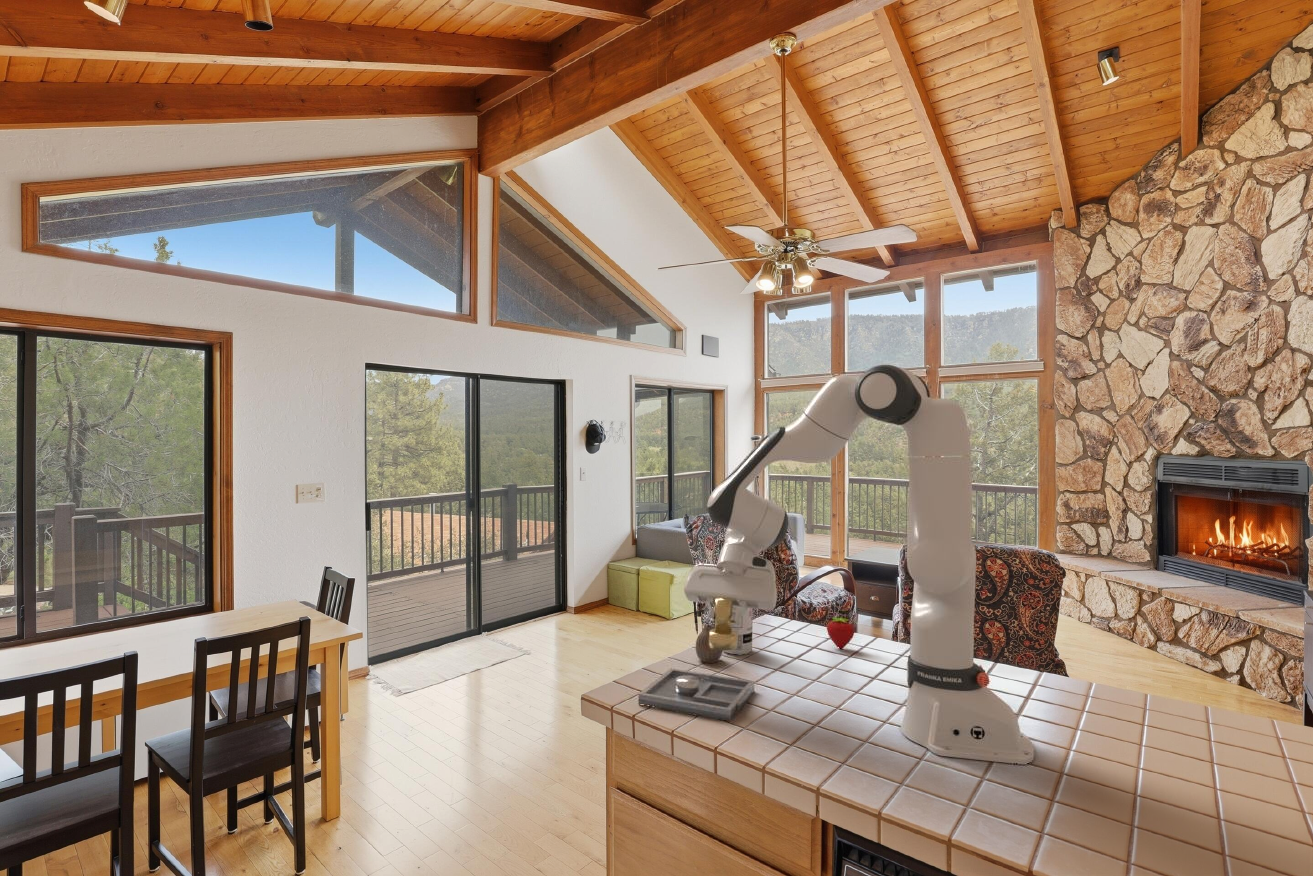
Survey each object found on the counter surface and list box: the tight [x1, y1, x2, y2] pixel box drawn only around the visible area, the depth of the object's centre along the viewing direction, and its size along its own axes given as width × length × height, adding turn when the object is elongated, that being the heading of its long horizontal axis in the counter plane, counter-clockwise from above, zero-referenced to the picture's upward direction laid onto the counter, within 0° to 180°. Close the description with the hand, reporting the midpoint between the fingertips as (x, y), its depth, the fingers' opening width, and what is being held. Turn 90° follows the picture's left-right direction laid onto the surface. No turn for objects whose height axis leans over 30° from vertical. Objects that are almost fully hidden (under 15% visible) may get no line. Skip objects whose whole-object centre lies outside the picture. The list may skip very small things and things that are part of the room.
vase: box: [695, 624, 724, 664], centre depth 168 cm, size 7×7×9 cm
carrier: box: [637, 668, 755, 722], centre depth 142 cm, size 20×18×4 cm
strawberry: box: [826, 612, 855, 649], centre depth 179 cm, size 6×8×10 cm
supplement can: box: [723, 606, 754, 656], centre depth 176 cm, size 8×8×15 cm
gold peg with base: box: [709, 597, 738, 650], centre depth 140 cm, size 6×6×10 cm
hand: (722, 620), depth 140 cm, fingers closed on gold peg with base, 4 cm apart
